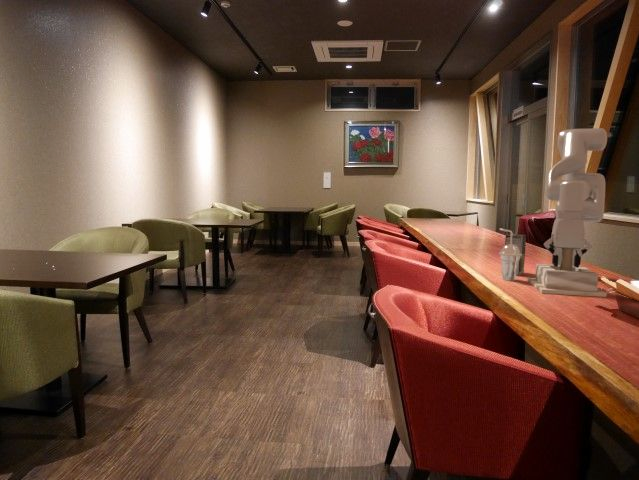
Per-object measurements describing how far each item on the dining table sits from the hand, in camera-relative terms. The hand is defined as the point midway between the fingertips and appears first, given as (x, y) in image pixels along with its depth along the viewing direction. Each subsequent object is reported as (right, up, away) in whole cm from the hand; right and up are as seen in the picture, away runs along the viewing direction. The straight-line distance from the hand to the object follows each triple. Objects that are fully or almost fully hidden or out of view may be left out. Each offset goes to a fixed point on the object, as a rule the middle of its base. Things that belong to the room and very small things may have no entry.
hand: (565, 266), depth 173 cm
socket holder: (0, -8, +1) cm, 8 cm away
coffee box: (-6, -5, +31) cm, 32 cm away
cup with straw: (-14, -6, +16) cm, 22 cm away
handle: (0, -7, +1) cm, 7 cm away
